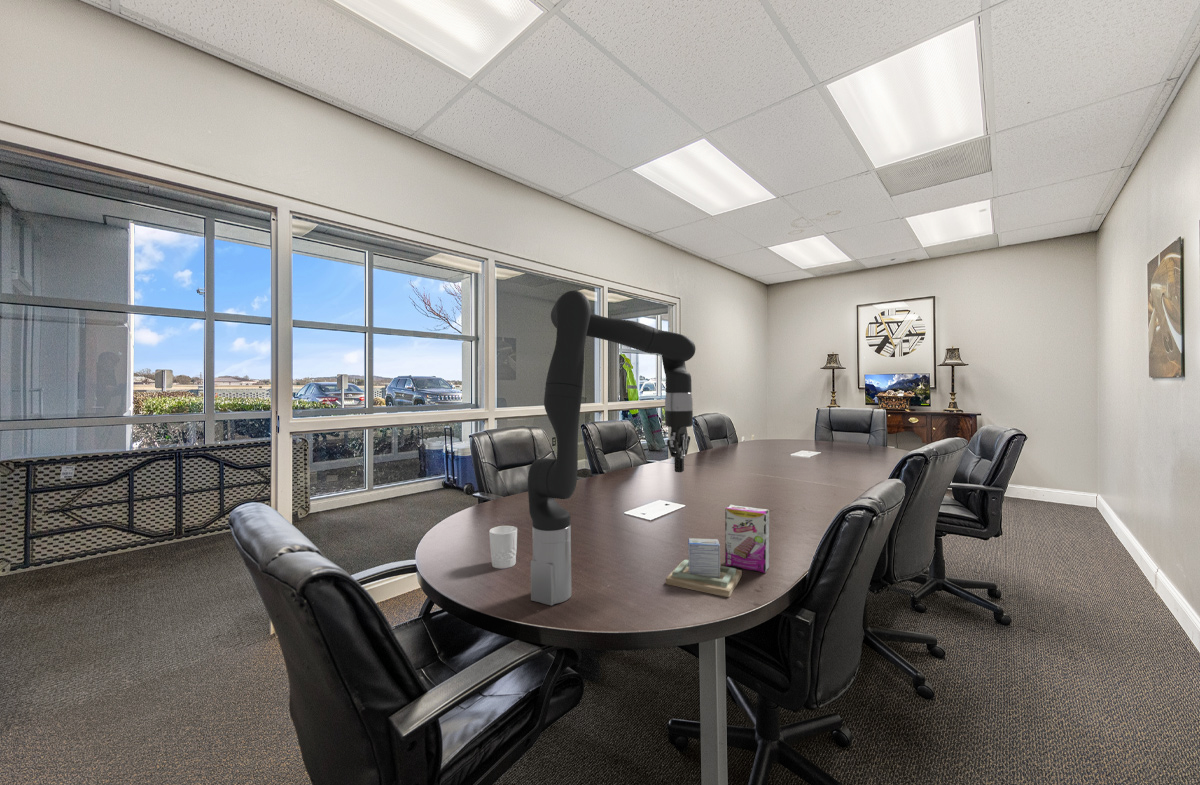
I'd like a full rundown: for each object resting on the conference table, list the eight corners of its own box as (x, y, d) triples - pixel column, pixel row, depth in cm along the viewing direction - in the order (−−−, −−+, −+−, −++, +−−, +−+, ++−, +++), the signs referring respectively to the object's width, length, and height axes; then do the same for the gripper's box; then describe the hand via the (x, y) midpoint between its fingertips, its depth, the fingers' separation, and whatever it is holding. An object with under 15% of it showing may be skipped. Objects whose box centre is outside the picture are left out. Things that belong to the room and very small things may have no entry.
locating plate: (729, 597, 109) (729, 586, 109) (665, 584, 117) (665, 574, 117) (741, 576, 122) (741, 566, 122) (683, 565, 129) (683, 556, 129)
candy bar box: (724, 566, 128) (724, 507, 128) (729, 560, 133) (729, 503, 133) (766, 574, 123) (766, 513, 123) (769, 567, 127) (769, 508, 127)
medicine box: (718, 571, 121) (718, 538, 121) (720, 578, 117) (720, 544, 116) (688, 570, 122) (688, 537, 122) (689, 576, 118) (688, 543, 118)
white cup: (484, 564, 132) (484, 529, 132) (507, 557, 137) (507, 523, 137) (499, 572, 126) (498, 536, 126) (523, 564, 132) (522, 529, 132)
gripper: (684, 410, 119) (684, 477, 119) (699, 408, 130) (699, 469, 130) (657, 410, 122) (657, 474, 123) (674, 407, 134) (674, 467, 134)
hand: (679, 471), depth 126 cm, fingers closed
